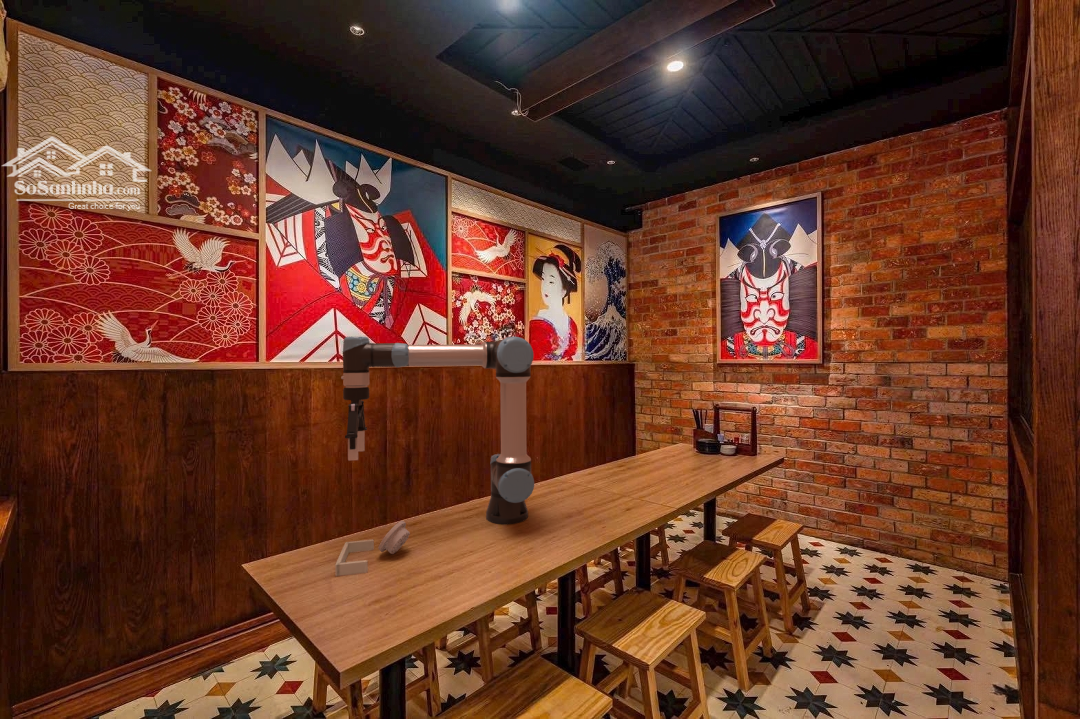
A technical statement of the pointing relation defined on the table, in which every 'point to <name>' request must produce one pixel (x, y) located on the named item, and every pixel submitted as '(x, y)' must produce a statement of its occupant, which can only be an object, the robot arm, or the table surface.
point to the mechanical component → (395, 538)
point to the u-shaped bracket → (355, 566)
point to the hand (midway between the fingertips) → (356, 455)
